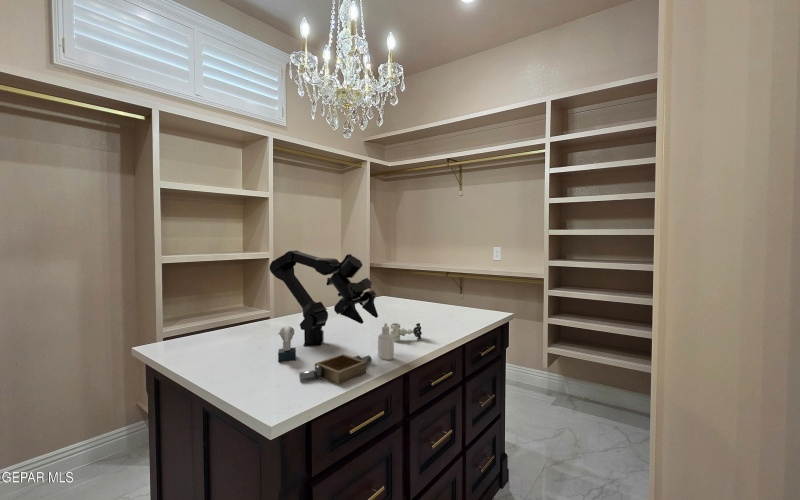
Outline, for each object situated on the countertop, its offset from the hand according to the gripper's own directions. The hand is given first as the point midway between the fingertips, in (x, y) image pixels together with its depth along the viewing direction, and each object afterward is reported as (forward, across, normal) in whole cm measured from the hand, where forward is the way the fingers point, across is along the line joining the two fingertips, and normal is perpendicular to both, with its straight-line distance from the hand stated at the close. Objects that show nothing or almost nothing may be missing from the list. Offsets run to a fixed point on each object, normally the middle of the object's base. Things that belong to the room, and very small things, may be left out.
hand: (370, 320), depth 121 cm
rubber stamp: (-7, -17, +25) cm, 31 cm away
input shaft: (+11, -9, +7) cm, 16 cm away
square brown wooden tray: (+10, -18, +8) cm, 22 cm away
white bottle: (+13, 0, +4) cm, 14 cm away
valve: (+11, +21, +7) cm, 25 cm away
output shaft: (+6, -25, +12) cm, 28 cm away
